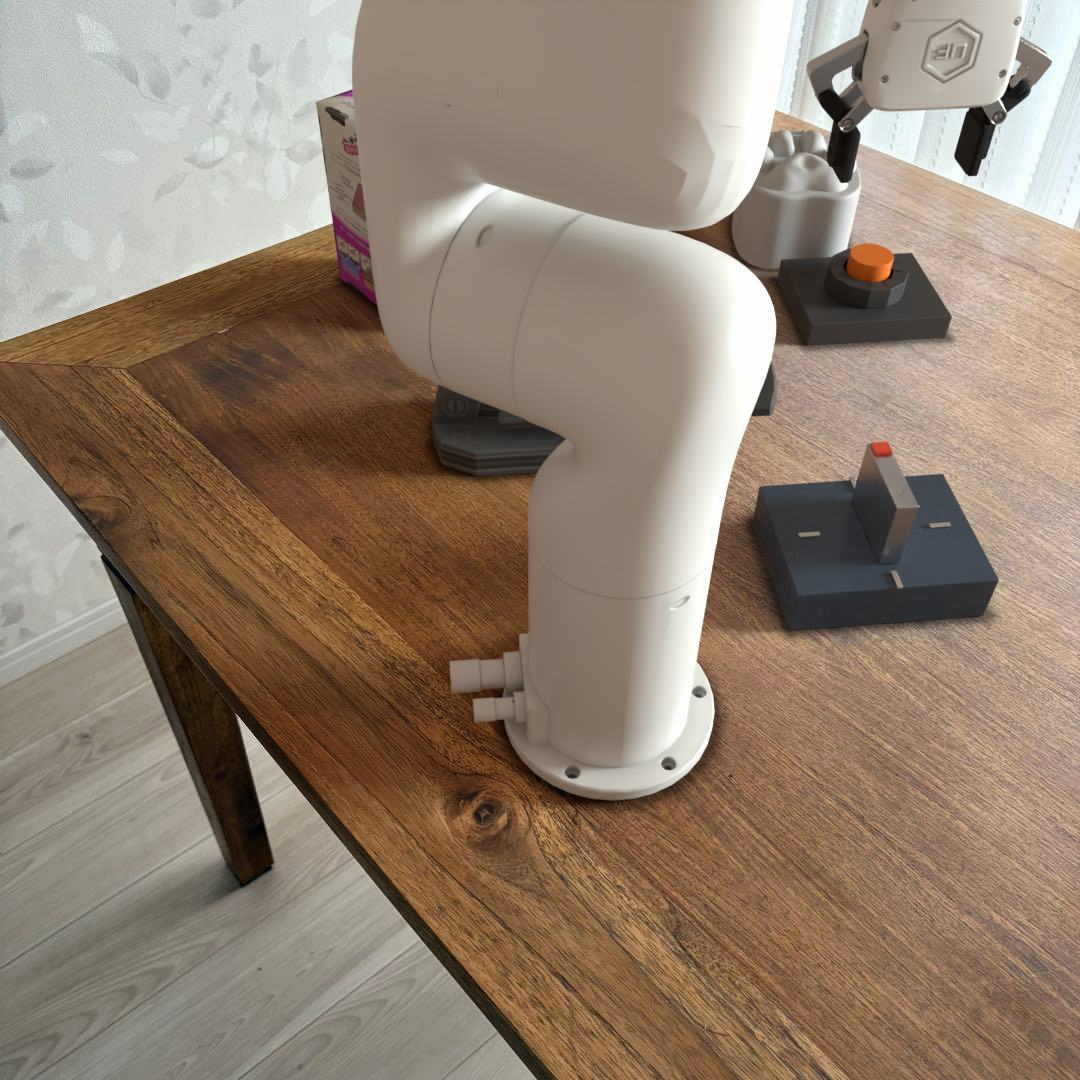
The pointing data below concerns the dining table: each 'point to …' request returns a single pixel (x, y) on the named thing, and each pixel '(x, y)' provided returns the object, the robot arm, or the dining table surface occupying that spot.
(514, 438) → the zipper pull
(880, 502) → the gray slab
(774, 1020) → the dining table surface
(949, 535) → the lever switch base
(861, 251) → the button
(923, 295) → the box
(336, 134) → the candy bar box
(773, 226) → the lumpy-topped squat cylinder
